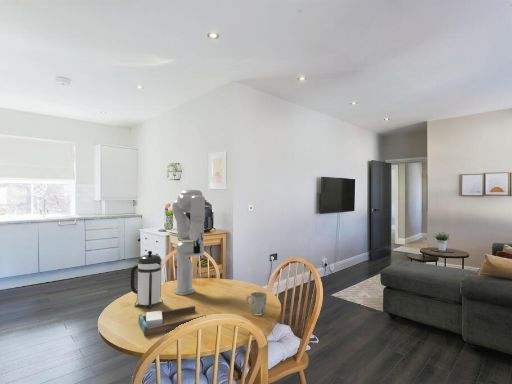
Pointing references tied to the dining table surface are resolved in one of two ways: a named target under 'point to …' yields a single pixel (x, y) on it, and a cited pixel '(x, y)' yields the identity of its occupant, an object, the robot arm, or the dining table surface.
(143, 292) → the coffee press
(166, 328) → the bay
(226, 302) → the dining table surface
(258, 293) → the mug
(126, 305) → the dining table surface
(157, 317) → the silver block
